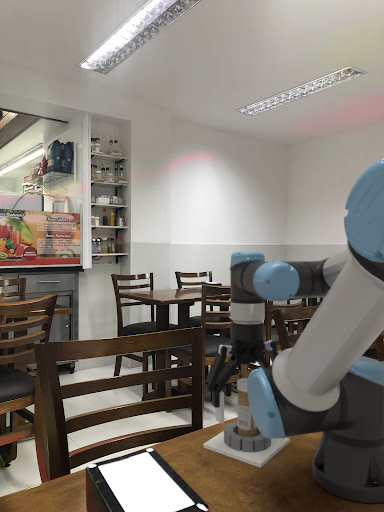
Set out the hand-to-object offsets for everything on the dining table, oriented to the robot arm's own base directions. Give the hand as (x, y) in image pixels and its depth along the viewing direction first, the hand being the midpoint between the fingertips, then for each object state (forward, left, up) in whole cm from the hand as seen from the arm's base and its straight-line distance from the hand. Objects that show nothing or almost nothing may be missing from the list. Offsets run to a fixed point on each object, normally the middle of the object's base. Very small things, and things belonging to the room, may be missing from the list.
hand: (247, 416), depth 91 cm
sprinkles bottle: (0, 0, -6) cm, 6 cm away
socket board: (0, 0, -6) cm, 6 cm away
